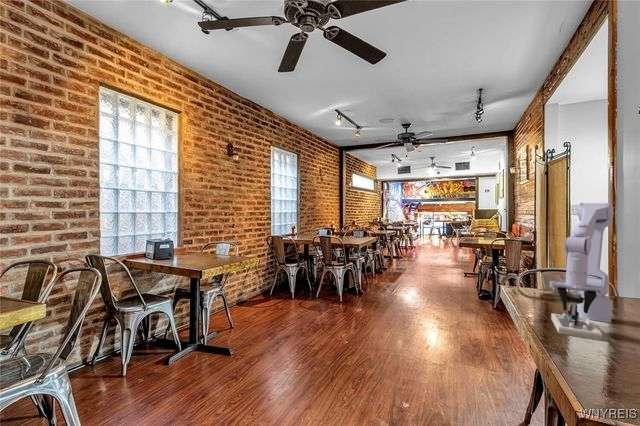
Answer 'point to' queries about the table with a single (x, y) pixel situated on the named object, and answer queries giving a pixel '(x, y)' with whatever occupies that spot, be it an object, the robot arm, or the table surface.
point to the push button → (574, 306)
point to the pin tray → (576, 327)
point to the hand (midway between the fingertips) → (575, 311)
